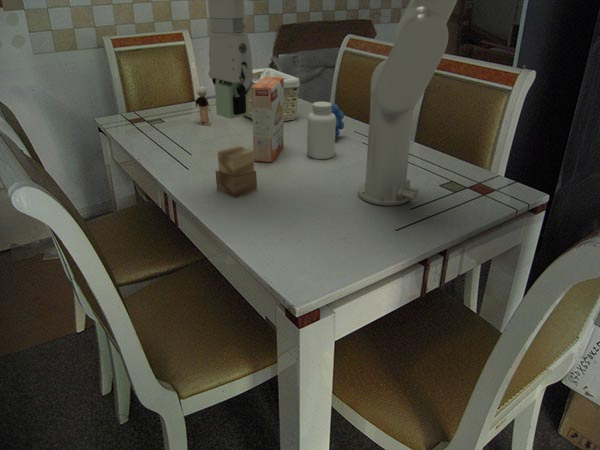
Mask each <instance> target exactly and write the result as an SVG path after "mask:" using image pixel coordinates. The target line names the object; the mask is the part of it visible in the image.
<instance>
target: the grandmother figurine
mask: <svg viewBox="0 0 600 450" xmlns="http://www.w3.org/2000/svg"><path fill="white" fill-rule="evenodd" d="M206 91H207V89H206V87H205V86H199V87H198V88H197V89H196V92H195V94H196V95H198V97H197V98H196V100H195V101H194V102H195V104H194V106H195V108H197V107H199V117H200V118H199V119H200V122H199V123H200V124H199V125H203V126H205V125H206V126H211V124H212V122H211V121H210V117H209V112H210V111H211V108H210V104H209V101H208V98H206V96H207V92H206Z"/></svg>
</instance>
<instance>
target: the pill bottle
mask: <svg viewBox="0 0 600 450" xmlns="http://www.w3.org/2000/svg"><path fill="white" fill-rule="evenodd" d="M332 104H333V103H331V102H329V101H316V102H313V103H312V112H310V113H309V114H308V116H307V134H306V135H307V137H306V140H307V142H306V152H307V153H306V154H307V156H308V157H310V158H311V159H315V160H326V159H327V160H328V159H331V158H333V157H334V156H335V150H336V137H335V130H336V117H335V115H334V114H333V113H331V111H332V110H331V109H332Z"/></svg>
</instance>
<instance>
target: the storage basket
mask: <svg viewBox="0 0 600 450" xmlns="http://www.w3.org/2000/svg"><path fill="white" fill-rule="evenodd" d="M252 70H253V78H252V79H257V80H253V82H254V85H255V84H256V83H258V82H259V81H260V80H262V79H263V78H264V77H280V78H284V122H288V121H293V120H295V119H297V111H298V98H299V96H298V95H299V89H300V86H301V84H300V78H299V77H295V76H293V75H291V74H287V73H285V72H281V71H279V70H277V69H274V68H271V67H265V68H258V69H257V68H255V69H252ZM239 82H240V79H239ZM254 85H253V86H254ZM247 113H248V115H244V116H245V117H247V118H249V119H250V120H252V121H253V116H252V87H251V88H250V89H249V91H248V92H247Z"/></svg>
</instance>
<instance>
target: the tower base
mask: <svg viewBox="0 0 600 450" xmlns="http://www.w3.org/2000/svg"><path fill="white" fill-rule="evenodd" d="M215 181H216V190H217V191H219V192H221V193H224V194H226V195H228V196H230V197H232V198H235V199H236V198H237V197H240V196H243V195H246V194H248V193H251V192H253V191H256V190H257V189H258V186H257V185H258V183H257V182H258V180H257V170H255V169H254V171H253V172H250V173H247V174H244V175H240V176H237V177H232V176H230V175H227V174H225V173H223V172H221V171H219V169H217V170H215Z"/></svg>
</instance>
